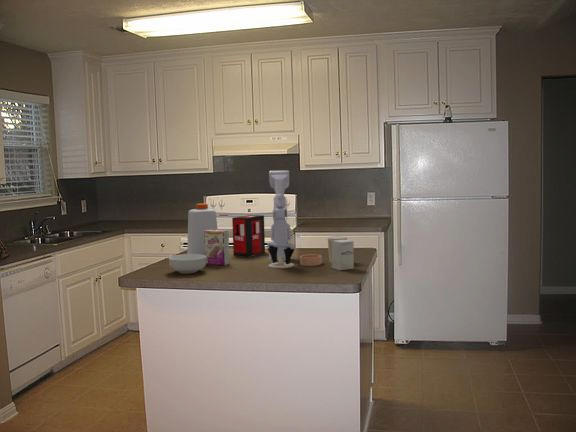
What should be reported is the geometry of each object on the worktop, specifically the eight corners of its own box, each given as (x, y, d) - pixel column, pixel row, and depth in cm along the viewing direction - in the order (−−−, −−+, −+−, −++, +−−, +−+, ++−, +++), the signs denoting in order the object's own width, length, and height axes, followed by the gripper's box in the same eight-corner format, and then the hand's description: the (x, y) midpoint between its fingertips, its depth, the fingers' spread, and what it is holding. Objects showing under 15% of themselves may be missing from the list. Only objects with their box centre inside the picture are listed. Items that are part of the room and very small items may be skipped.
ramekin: (295, 265, 268) (295, 256, 268) (308, 262, 276) (307, 253, 276) (313, 267, 262) (313, 258, 262) (325, 263, 270) (325, 255, 270)
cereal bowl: (189, 277, 246) (188, 260, 246) (161, 274, 255) (160, 258, 254) (214, 270, 261) (214, 254, 260) (187, 267, 269) (186, 252, 269)
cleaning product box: (247, 257, 295) (246, 218, 293) (233, 256, 299) (232, 217, 297) (265, 252, 309) (263, 215, 307) (251, 251, 314) (250, 215, 312)
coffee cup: (346, 264, 267) (346, 238, 266) (326, 264, 269) (326, 238, 268) (348, 260, 277) (348, 236, 275) (329, 260, 278) (328, 236, 277)
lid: (263, 266, 264) (263, 257, 264) (278, 262, 273) (278, 254, 273) (283, 269, 257) (283, 259, 257) (298, 264, 267) (298, 256, 266)
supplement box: (340, 270, 252) (339, 242, 251) (331, 268, 259) (330, 240, 258) (354, 268, 256) (354, 240, 255) (345, 266, 262) (344, 239, 261)
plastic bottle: (213, 255, 304) (211, 202, 301) (222, 259, 290) (220, 204, 287) (185, 257, 297) (183, 203, 295) (193, 262, 284) (191, 205, 281)
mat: (263, 267, 264) (263, 266, 264) (278, 263, 274) (278, 262, 274) (283, 270, 257) (283, 269, 257) (299, 265, 267) (299, 264, 267)
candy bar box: (204, 264, 276) (203, 230, 274) (210, 262, 280) (209, 229, 279) (224, 265, 271) (223, 231, 270) (230, 264, 276) (228, 230, 274)
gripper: (262, 234, 265) (263, 263, 266) (288, 235, 257) (288, 265, 258) (272, 232, 271) (272, 260, 272) (297, 234, 262) (297, 263, 263)
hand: (281, 263), depth 265 cm, fingers open, 7 cm apart
